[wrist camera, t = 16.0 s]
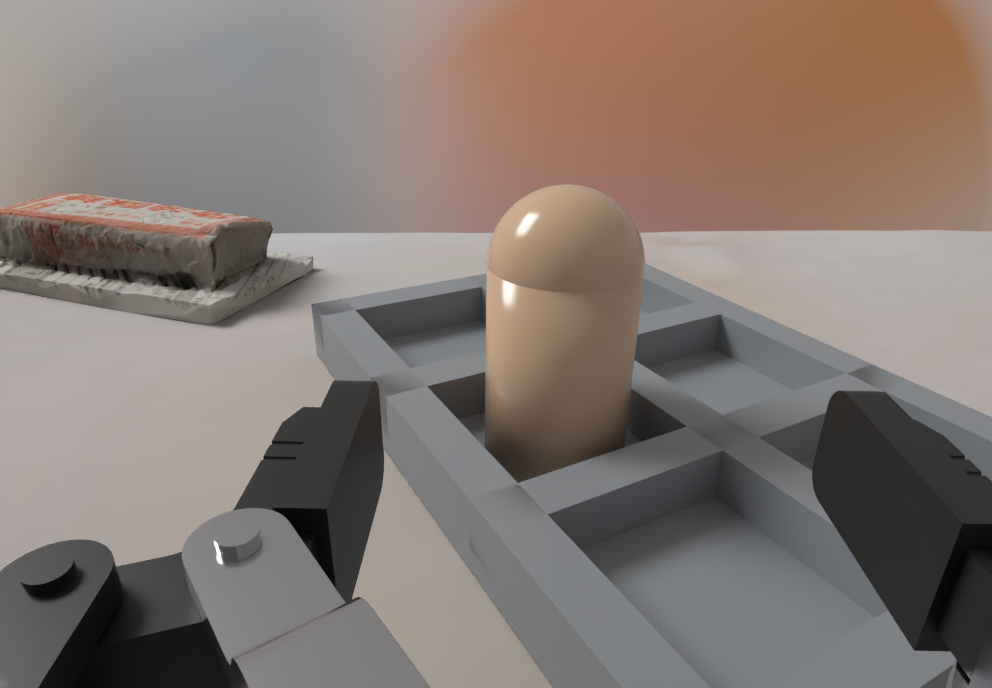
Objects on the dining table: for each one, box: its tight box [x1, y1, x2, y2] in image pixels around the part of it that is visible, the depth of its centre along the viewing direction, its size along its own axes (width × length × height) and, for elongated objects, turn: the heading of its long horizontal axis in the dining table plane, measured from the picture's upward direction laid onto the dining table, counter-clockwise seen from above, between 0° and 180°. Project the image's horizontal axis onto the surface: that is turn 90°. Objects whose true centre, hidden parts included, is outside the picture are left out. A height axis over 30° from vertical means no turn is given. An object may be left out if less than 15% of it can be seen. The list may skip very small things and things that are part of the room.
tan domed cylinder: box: [485, 185, 645, 483], centre depth 23 cm, size 5×5×10 cm
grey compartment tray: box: [311, 264, 992, 688], centre depth 27 cm, size 26×18×3 cm
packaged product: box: [0, 193, 313, 325], centre depth 42 cm, size 18×5×10 cm
